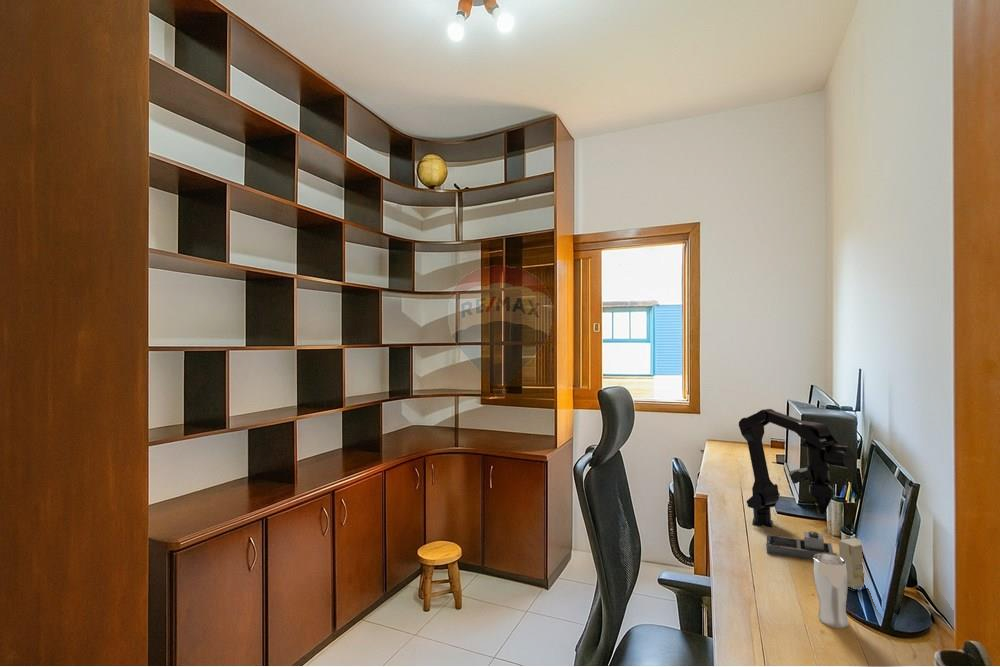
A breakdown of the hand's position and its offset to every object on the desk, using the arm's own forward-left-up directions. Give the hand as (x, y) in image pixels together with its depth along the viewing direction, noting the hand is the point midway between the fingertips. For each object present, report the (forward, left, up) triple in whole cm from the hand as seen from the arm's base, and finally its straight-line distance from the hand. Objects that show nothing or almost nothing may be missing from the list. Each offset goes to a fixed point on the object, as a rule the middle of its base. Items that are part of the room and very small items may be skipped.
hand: (821, 509), depth 158 cm
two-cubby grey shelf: (+8, -7, -12) cm, 16 cm away
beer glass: (+48, -1, -12) cm, 50 cm away
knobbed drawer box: (+8, -3, -12) cm, 15 cm away
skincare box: (+26, +6, -12) cm, 29 cm away
